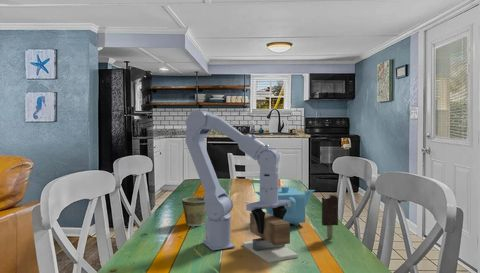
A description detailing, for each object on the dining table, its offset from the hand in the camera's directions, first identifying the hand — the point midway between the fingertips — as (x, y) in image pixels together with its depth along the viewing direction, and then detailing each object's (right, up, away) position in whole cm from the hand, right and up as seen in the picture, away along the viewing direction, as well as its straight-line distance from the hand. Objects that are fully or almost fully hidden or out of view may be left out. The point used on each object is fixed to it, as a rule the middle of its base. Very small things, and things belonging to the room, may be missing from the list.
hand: (268, 231), depth 114 cm
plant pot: (-26, -5, +32) cm, 42 cm away
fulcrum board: (0, -6, 0) cm, 6 cm away
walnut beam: (0, -2, 0) cm, 2 cm away
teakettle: (+9, -5, +34) cm, 36 cm away
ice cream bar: (+22, -6, +13) cm, 26 cm away
